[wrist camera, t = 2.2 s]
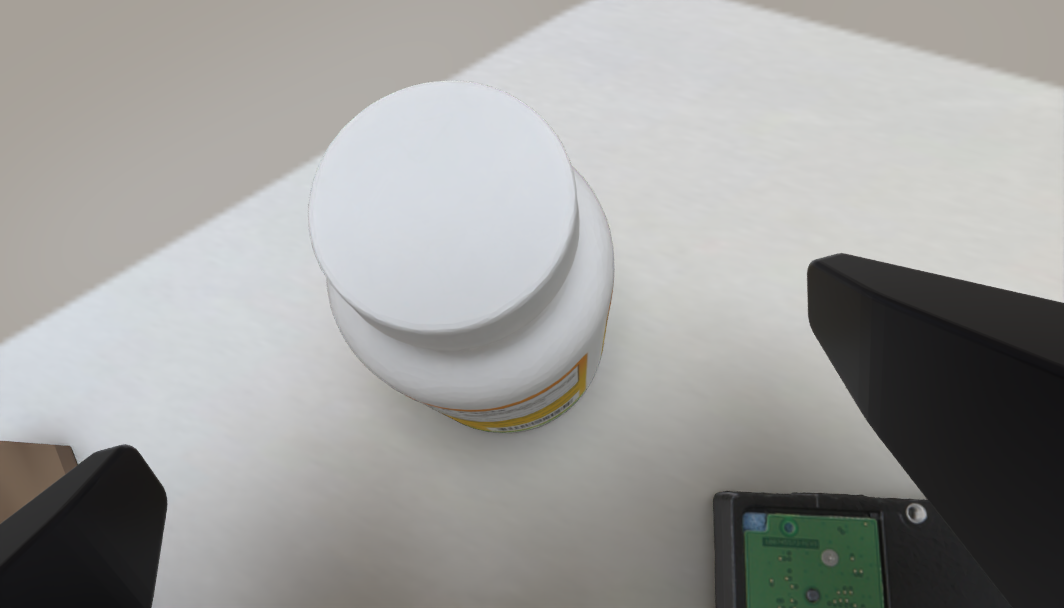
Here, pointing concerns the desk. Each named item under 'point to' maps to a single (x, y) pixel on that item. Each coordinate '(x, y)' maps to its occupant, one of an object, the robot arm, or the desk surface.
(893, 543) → the disk drive
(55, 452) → the wooden box
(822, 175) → the desk surface
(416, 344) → the supplement bottle
